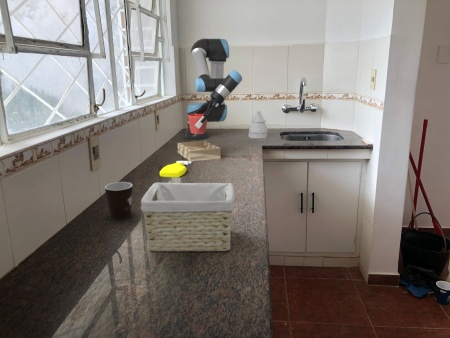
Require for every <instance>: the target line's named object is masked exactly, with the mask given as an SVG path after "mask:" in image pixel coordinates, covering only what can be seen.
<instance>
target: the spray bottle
mask: <svg viewBox="0 0 450 338" xmlns="http://www.w3.org/2000/svg"><path fill="white" fill-rule="evenodd" d="M189 164H190V165H191V164H192V161H189V160H176V162H174V163H172V164H167V165H165V166H164V167H163V168H162V169H161V170H160V171H159V177H161V178H180V176H181V177H182V176H184V175H185V174H186V172H187V171H188V169H187V167H186V166H185V165H187V166H189Z"/></svg>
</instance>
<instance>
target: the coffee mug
mask: <svg viewBox="0 0 450 338" xmlns="http://www.w3.org/2000/svg"><path fill="white" fill-rule="evenodd" d="M133 185H134V184H132V182H126V181H118V182H112V183H111V182H110V183H107V184H106V185H105V186H104V190H105V196H106V200H107V205H108V209H109V215H110V217H111V219H116V220H121V219H127V218H129V217H130V216H131V215H132V206H133V205H132V202H133Z"/></svg>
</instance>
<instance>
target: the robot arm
mask: <svg viewBox="0 0 450 338" xmlns="http://www.w3.org/2000/svg"><path fill="white" fill-rule="evenodd" d="M190 57H191V59H192V60H193V64H194V67H195V68H194V69H195V73H196V79H194V89H195V92H197V93H209V100H208V99H207V100H206V101H205V102H196V103H191V104H189V105H187V108H186V109H187V110H186V113H187V116H188V115H190V114H204V115H203V116H202V118H201V119H200V120H199V121H198V122H197V123H196V124H195V126H196V127H197V128H198V129H199V128H200V127H201V126H202V125H203V123H204V122H205V121H206V120H207V123H215V122H217V123H220V122H224V121H225V120H226V118H227V117H228V116H227V115H228V105H227V104H226V102H225V100H226V99H227V98H229V97H230V95H231V94H232V93H233V91H234V90H235V89H236V88H237V87H238V86H239V84H241V82H242V81H243V76H242V75H241V74H240V72H239V71H237V70H233V69H232V70H231V71H230V72H229V73H228V74H227V76H226V77H224V72H225V71H224V66H225V63H226V62H227V59H229V58H230V46H229V42H228V41H227V39H225V38H200V39H198V40H196V41H195V42H194V43H193V45H192V46H191V48H190ZM208 62H209V63H210V70H209V65H208ZM184 136H185V137H184V138H185V139H188V140H204V139H208V132H207V130H206V131H205V133H204V134H192V133H191V131H190V126H189V120H188V119H187V128H186V130H185V135H184Z"/></svg>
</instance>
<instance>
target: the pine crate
mask: <svg viewBox="0 0 450 338" xmlns="http://www.w3.org/2000/svg"><path fill="white" fill-rule="evenodd" d="M177 153H178V154H179V155H180V156H182V157H183V158H184V159H186V160H187V161H190V162H198V161H209V160H218V159H221V156H222V155H221V153H222V151H221V147H220V146H217V145H215V144H213V143H212V142H209V141H207V140H200V141H199V140H198V141H188V142H177Z"/></svg>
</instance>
